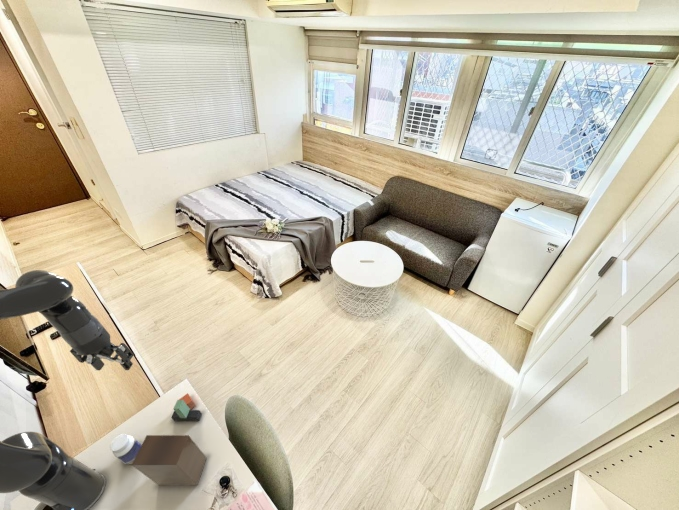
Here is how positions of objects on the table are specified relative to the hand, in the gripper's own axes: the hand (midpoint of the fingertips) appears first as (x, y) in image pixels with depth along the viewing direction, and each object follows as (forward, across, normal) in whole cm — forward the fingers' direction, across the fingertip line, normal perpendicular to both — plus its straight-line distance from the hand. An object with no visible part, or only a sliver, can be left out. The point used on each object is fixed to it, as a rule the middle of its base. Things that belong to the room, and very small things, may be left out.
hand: (115, 367), depth 80 cm
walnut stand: (+30, +18, -17) cm, 39 cm away
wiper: (+30, +12, -2) cm, 33 cm away
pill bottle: (+30, 0, -13) cm, 33 cm away
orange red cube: (+30, +11, +3) cm, 32 cm away
